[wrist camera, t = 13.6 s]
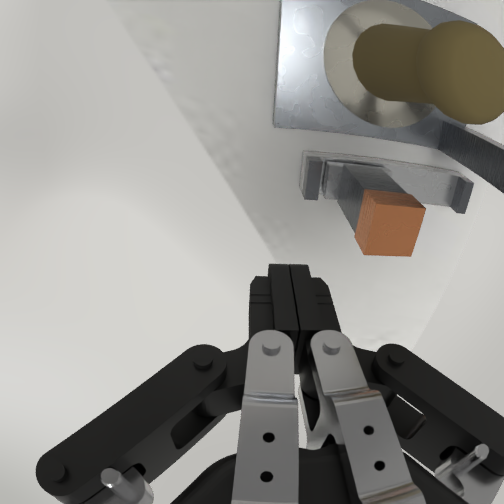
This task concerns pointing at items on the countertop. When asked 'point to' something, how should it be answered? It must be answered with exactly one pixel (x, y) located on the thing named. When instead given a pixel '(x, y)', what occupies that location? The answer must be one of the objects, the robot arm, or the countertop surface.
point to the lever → (375, 208)
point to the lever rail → (404, 174)
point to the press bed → (353, 92)
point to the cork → (434, 68)
